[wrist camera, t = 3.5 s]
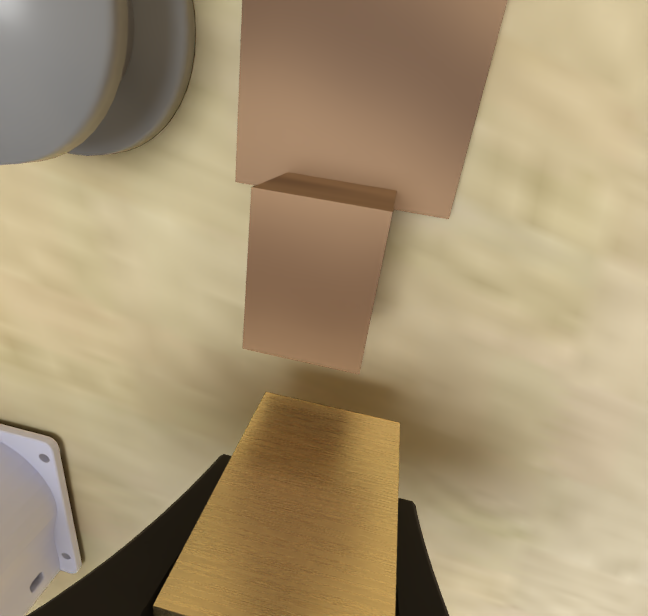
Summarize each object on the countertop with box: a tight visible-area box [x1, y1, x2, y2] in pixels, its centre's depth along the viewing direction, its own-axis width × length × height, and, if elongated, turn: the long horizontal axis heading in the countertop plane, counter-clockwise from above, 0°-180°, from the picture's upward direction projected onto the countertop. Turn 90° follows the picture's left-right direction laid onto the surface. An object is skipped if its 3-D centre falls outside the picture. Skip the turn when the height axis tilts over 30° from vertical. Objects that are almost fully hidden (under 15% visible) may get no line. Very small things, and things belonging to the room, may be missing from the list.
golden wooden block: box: [153, 392, 400, 616], centre depth 10 cm, size 4×4×7 cm
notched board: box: [235, 0, 507, 374], centre depth 9 cm, size 14×6×4 cm, turn 172°
